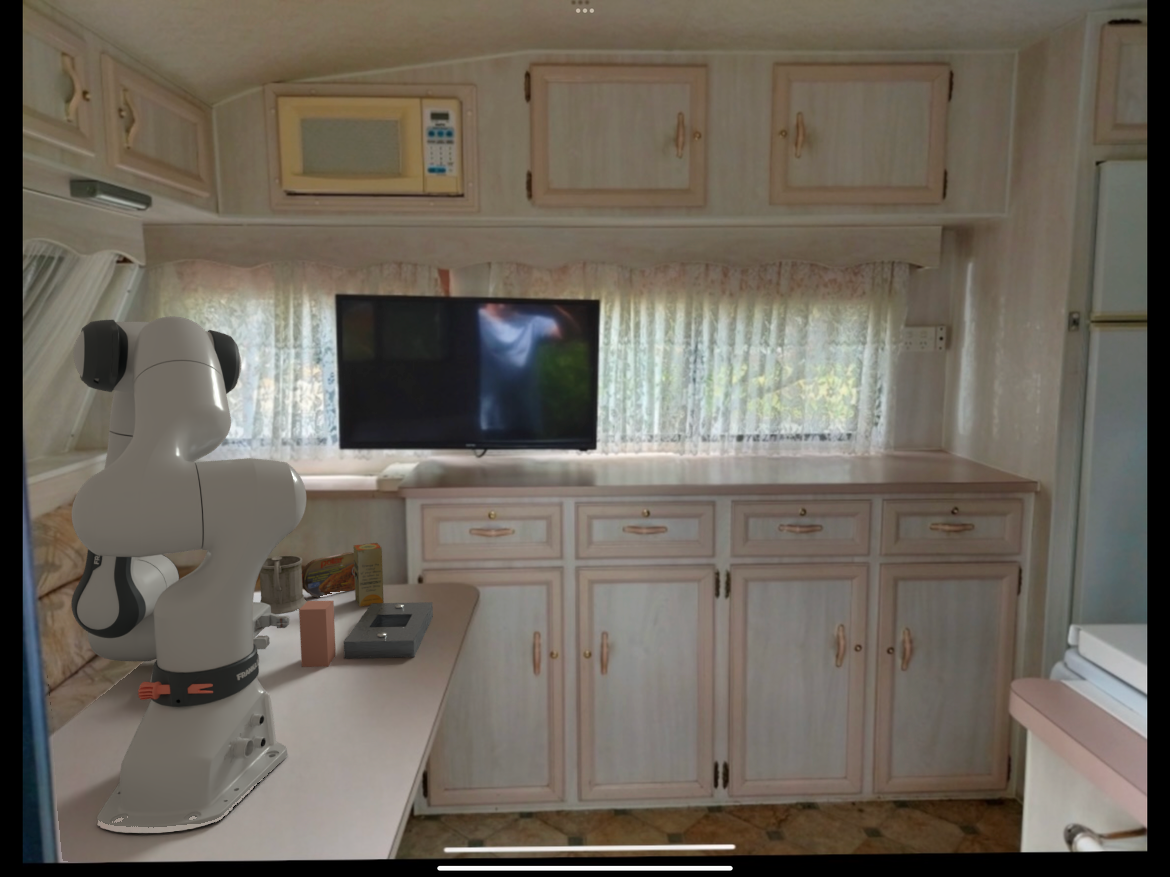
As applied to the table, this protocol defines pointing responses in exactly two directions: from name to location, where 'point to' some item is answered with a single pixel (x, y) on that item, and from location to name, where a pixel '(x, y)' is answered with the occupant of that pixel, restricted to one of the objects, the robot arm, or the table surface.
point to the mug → (282, 584)
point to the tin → (329, 575)
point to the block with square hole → (389, 630)
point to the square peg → (317, 633)
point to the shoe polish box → (368, 574)
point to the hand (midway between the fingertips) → (278, 631)
